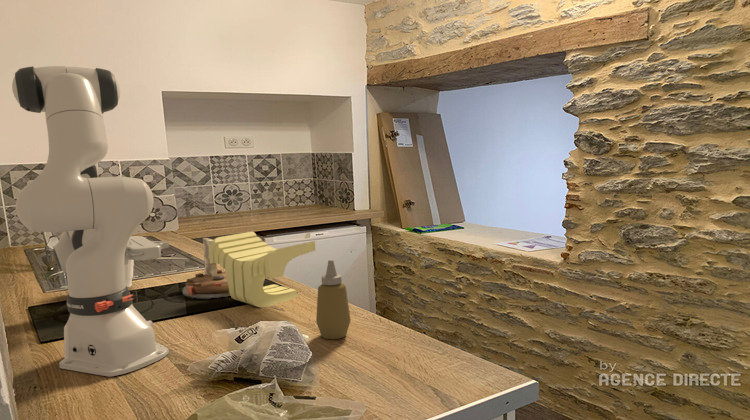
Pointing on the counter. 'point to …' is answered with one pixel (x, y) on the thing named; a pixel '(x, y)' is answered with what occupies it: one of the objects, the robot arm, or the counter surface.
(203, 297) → the base plate
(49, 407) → the counter surface
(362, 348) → the counter surface
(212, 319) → the counter surface
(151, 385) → the counter surface
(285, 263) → the slatted curved stool
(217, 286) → the brown piece
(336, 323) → the squeeze bottle
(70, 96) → the robot arm
